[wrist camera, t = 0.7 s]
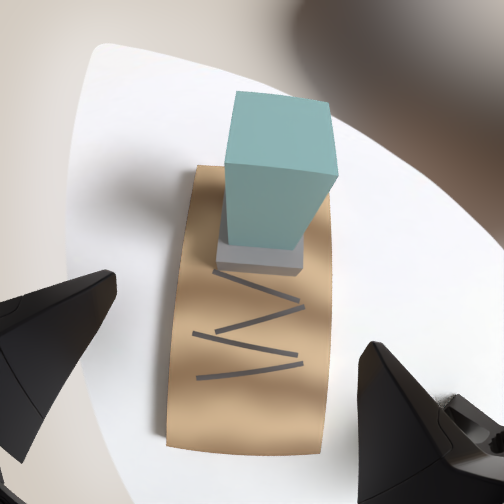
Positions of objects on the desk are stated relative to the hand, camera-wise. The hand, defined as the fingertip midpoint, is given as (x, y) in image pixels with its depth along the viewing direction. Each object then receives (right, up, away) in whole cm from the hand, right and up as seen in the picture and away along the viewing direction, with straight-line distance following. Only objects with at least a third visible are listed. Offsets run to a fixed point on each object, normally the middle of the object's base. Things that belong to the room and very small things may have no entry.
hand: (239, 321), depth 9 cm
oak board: (+1, -2, +13) cm, 14 cm away
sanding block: (+1, +4, +14) cm, 14 cm away
